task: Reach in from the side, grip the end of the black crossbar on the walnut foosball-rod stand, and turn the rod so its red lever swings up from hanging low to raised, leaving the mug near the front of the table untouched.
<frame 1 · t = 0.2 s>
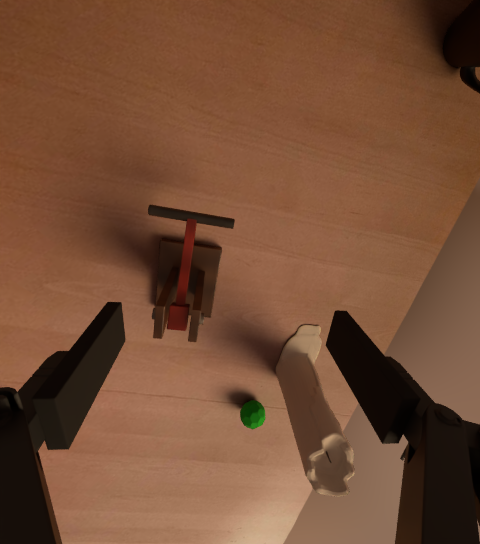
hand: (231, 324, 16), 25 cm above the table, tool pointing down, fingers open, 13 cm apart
polyhedron: (251, 403, 53), on the table
rod stand: (188, 278, 41), on the table
candle: (298, 353, 49), on the table
red lever: (185, 270, 31), point 9 cm above the table, hinge at -20.0°
mug: (459, 59, 33), on the table
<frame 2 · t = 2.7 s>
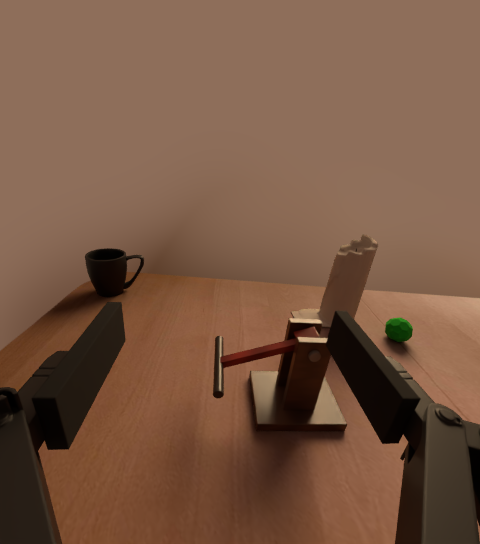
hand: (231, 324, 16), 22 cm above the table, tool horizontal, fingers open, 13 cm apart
polyhedron: (394, 339, 55), on the table
rod stand: (292, 401, 38), on the table
candle: (321, 319, 60), on the table
red lever: (265, 351, 34), point 9 cm above the table, hinge at -20.0°
mug: (119, 291, 62), on the table
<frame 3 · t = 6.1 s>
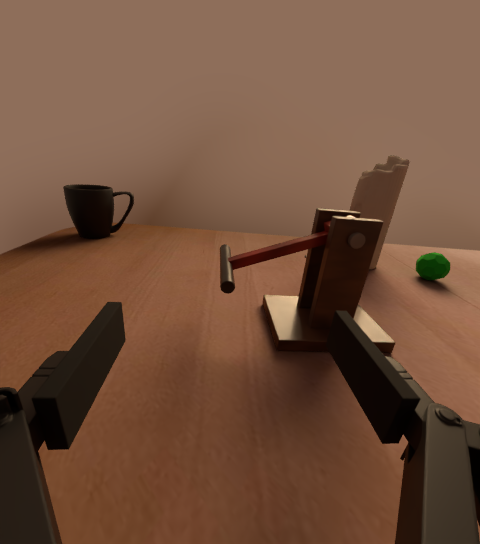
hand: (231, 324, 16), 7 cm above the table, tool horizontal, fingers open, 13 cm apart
polyhedron: (426, 279, 47), on the table
rod stand: (319, 325, 30), on the table
candle: (339, 262, 52), on the table
red lever: (287, 247, 26), point 9 cm above the table, hinge at -20.0°
mug: (105, 235, 54), on the table
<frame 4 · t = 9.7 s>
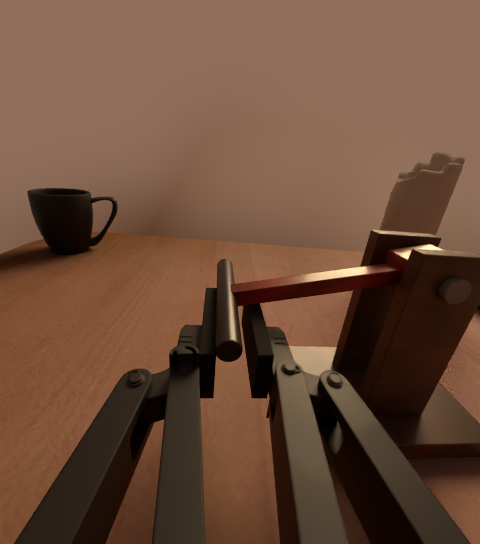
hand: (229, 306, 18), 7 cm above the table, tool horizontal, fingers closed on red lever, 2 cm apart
rod stand: (367, 398, 20), on the table
candle: (368, 283, 42), on the table
red lever: (328, 282, 16), point 10 cm above the table, hinge at -11.6°, touching gripper
mug: (83, 250, 45), on the table
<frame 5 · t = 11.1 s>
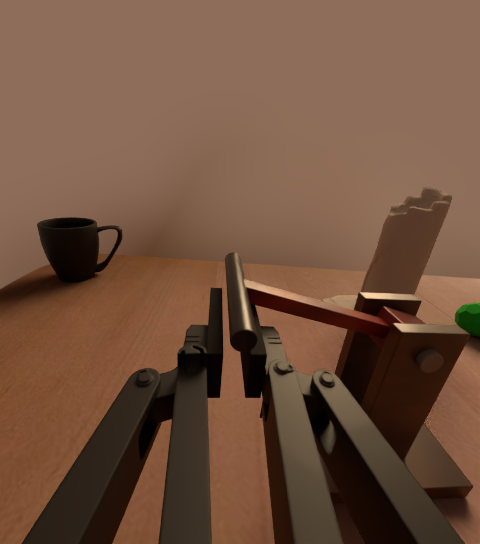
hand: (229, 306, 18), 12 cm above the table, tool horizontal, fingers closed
polyhedron: (469, 333, 39), on the table
rod stand: (357, 437, 22), on the table
candle: (362, 308, 44), on the table
red lever: (329, 313, 17), point 12 cm above the table, hinge at 14.1°, touching gripper
mug: (89, 275, 46), on the table
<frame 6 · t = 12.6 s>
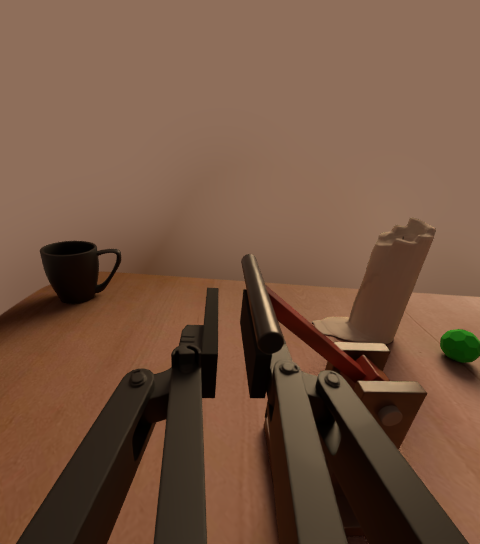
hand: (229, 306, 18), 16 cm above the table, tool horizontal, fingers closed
polyhedron: (453, 358, 41), on the table
rod stand: (334, 471, 24), on the table
candle: (352, 330, 46), on the table
red lever: (322, 344, 18), point 14 cm above the table, hinge at 38.1°, touching gripper
mug: (89, 296, 48), on the table
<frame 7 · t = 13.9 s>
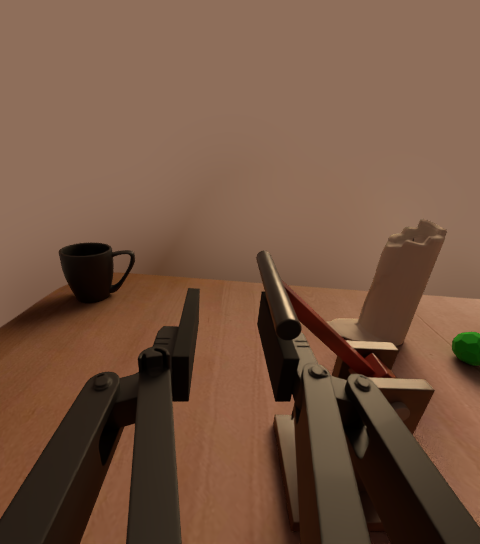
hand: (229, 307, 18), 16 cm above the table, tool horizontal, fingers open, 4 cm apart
polyhedron: (465, 361, 40), on the table
rod stand: (343, 468, 24), on the table
candle: (361, 332, 46), on the table
red lever: (333, 340, 18), point 15 cm above the table, hinge at 40.3°, touching gripper
mug: (104, 296, 50), on the table
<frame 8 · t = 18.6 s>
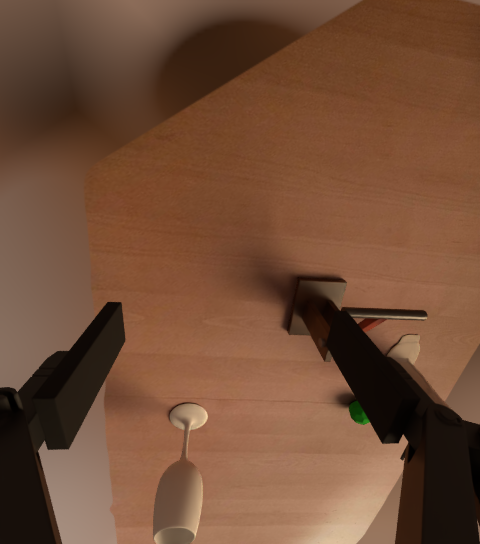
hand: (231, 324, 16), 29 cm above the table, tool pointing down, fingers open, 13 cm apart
polyhedron: (355, 402, 62), on the table
wineglass: (188, 415, 60), on the table
rod stand: (314, 306, 50), on the table
candle: (399, 358, 57), on the table
red lever: (356, 331, 35), point 14 cm above the table, hinge at 35.3°
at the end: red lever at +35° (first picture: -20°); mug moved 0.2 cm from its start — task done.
